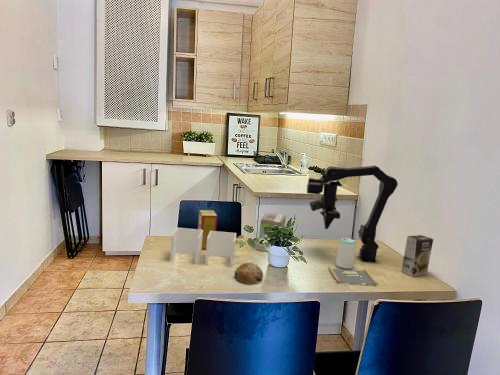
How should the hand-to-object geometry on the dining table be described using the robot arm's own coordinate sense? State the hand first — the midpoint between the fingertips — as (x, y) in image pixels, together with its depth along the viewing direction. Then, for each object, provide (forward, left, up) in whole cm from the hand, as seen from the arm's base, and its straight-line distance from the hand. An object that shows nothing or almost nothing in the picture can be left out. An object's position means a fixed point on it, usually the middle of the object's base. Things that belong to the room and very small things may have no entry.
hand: (326, 228), depth 183 cm
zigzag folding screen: (+54, +16, -13) cm, 57 cm away
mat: (-6, +24, -13) cm, 28 cm away
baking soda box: (+54, 0, -13) cm, 55 cm away
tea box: (+24, -6, -13) cm, 28 cm away
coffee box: (-36, +15, -13) cm, 41 cm away
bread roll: (+36, +33, -13) cm, 50 cm away
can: (-6, +13, -13) cm, 19 cm away
